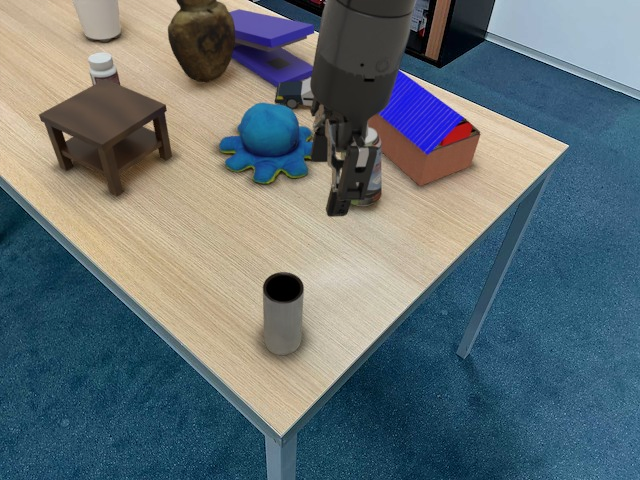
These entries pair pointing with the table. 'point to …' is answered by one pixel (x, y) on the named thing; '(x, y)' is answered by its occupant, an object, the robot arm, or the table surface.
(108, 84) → the plant stand
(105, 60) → the pill bottle
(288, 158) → the plush toy
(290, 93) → the toy car
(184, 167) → the table surface
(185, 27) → the sculpture
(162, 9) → the table surface
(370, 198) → the beverage can
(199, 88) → the table surface
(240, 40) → the stapler
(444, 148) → the house
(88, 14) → the cup
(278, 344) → the planter
